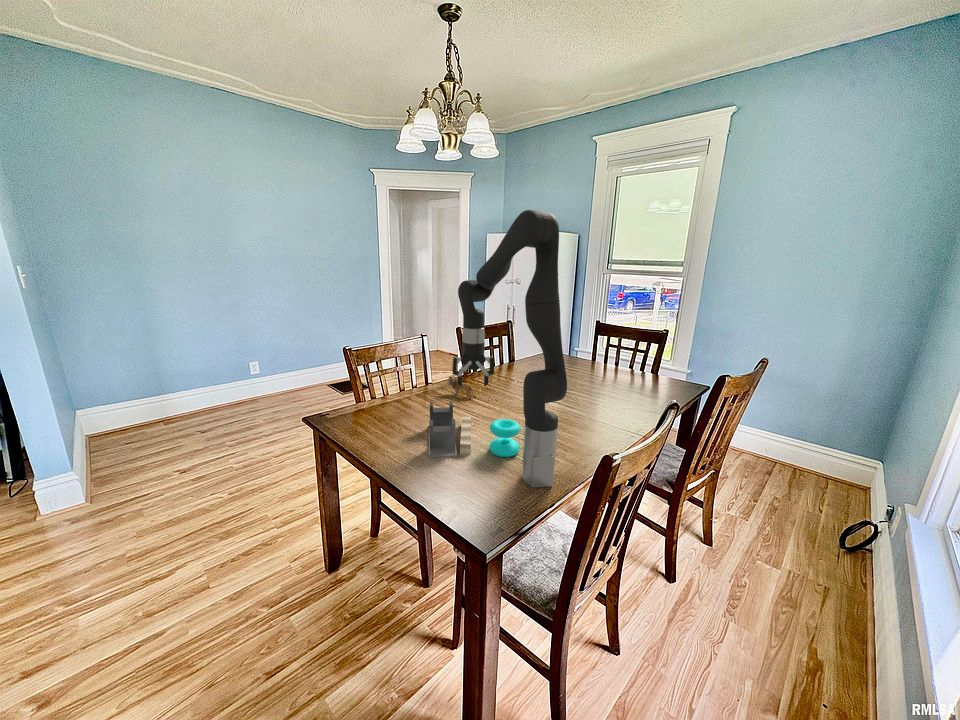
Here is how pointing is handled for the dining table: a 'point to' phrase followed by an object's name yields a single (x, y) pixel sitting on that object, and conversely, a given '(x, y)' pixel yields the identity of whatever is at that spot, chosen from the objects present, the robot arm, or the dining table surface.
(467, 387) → the lion figurine
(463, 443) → the birch rail
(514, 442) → the turquoise hourglass-shaped piece
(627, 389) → the dining table surface
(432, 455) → the cradle bracket stand
